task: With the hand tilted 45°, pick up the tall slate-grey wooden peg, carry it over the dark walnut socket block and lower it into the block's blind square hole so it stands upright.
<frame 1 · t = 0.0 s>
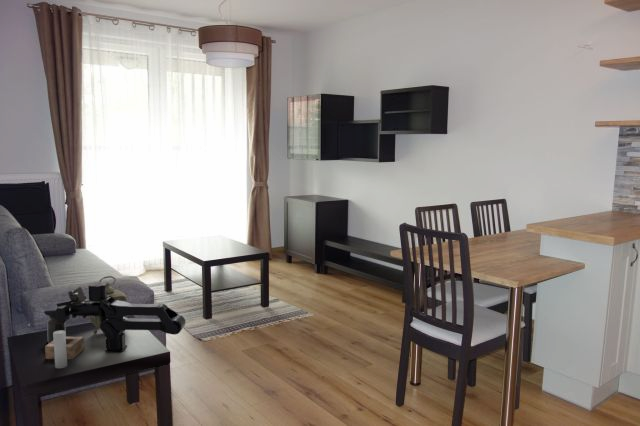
hand: (50, 308, 203), 17 cm above the table, tool horizontal, fingers open, 9 cm apart
peg: (61, 366, 190), on the table
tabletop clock: (110, 332, 223), on the table
supplement bottle: (57, 341, 214), on the table
socket block: (65, 353, 201), on the table
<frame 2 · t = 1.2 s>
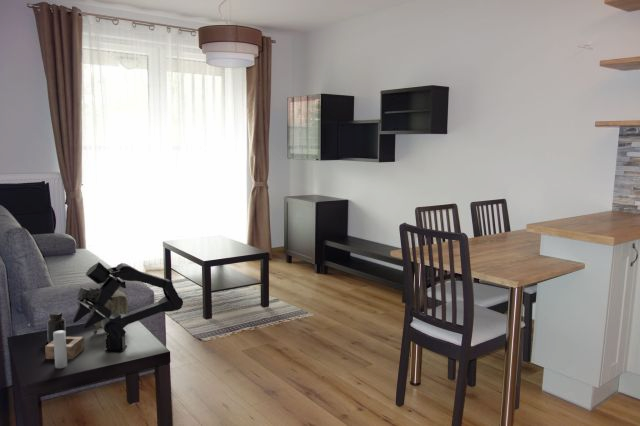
hand: (78, 325, 194), 14 cm above the table, tool tilted 45°, fingers open, 9 cm apart
nothing on the table moved.
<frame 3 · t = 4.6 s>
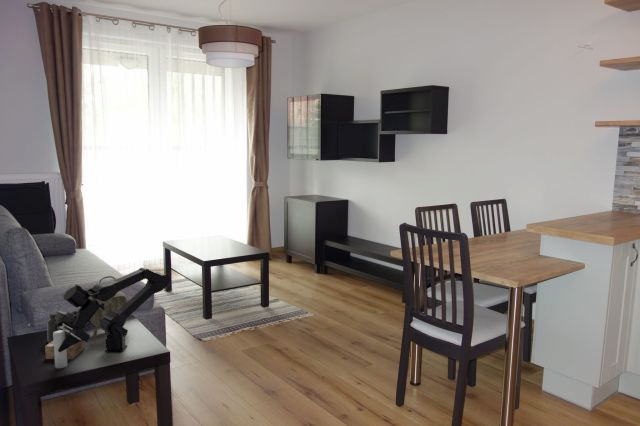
hand: (56, 350, 188), 7 cm above the table, tool tilted 45°, fingers closed on peg, 4 cm apart
peg: (61, 366, 190), on the table, touching gripper
everything else where it was.
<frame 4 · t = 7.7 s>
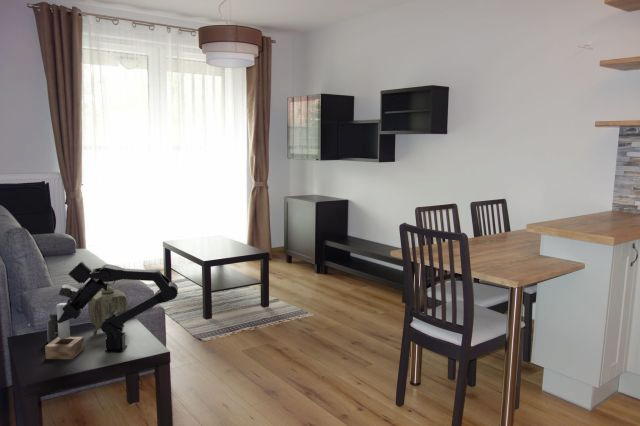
hand: (59, 320, 198), 14 cm above the table, tool tilted 45°, fingers closed on peg, 4 cm apart
peg: (64, 336, 200), point 7 cm above the table, touching gripper
everything else where it was.
when the fingers open (8 cm above the table, at t = 10.6 s): peg stays where it is, resting on socket block.
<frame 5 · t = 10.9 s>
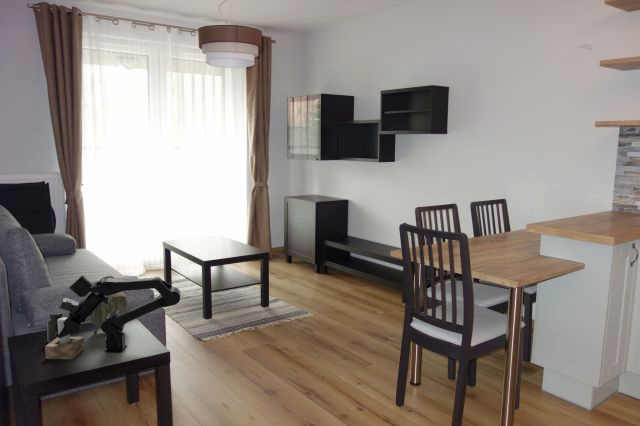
hand: (60, 334, 199), 8 cm above the table, tool tilted 45°, fingers open, 7 cm apart
peg: (65, 351, 201), point 1 cm above the table, touching socket block
everything else where it was.
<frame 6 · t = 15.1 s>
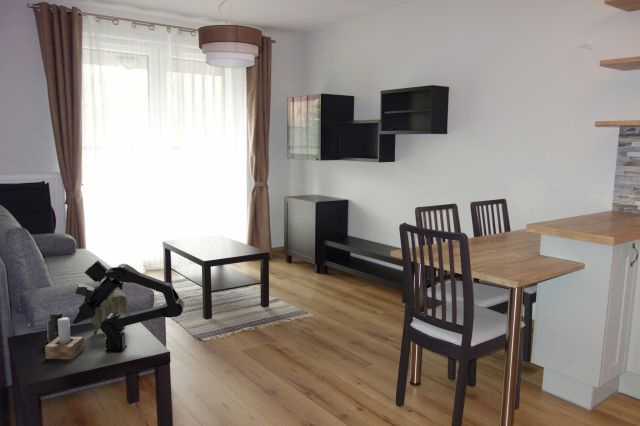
hand: (75, 319, 200), 14 cm above the table, tool tilted 45°, fingers open, 9 cm apart
nothing on the table moved.
at the end: peg 0.0 cm off-centre on the socket block, point 1.0 cm above the socket block's base; peg tilted 0°; the gripper is holding nothing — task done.
